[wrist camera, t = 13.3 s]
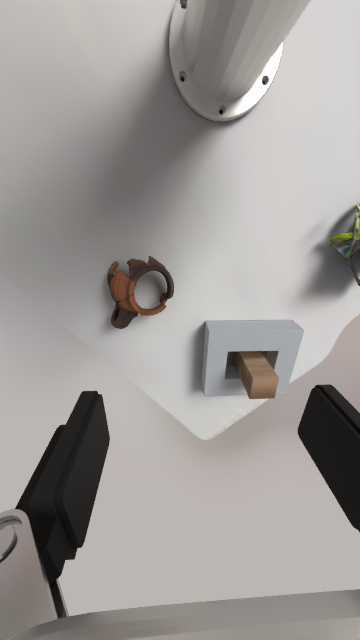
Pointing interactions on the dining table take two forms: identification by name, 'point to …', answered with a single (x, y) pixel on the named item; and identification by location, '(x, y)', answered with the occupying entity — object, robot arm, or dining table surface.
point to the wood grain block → (256, 374)
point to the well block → (247, 336)
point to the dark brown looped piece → (125, 287)
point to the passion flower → (350, 242)
